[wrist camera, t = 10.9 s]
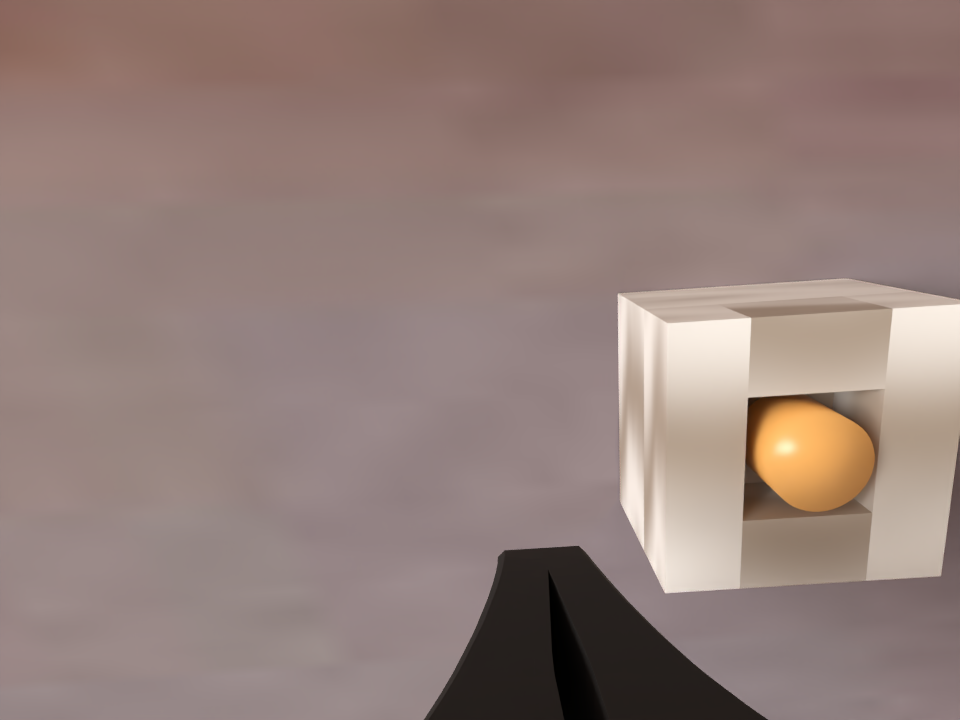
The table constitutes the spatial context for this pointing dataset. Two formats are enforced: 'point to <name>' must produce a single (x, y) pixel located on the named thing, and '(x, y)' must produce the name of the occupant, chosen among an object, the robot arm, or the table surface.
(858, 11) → the table surface
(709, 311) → the cream cage with ball
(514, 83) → the table surface
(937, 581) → the table surface
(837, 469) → the plunger
